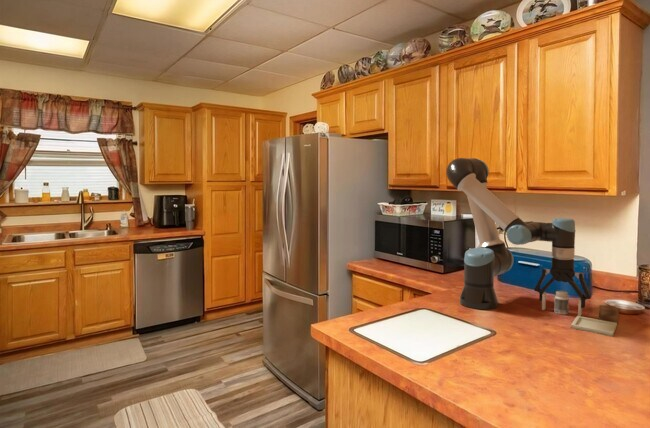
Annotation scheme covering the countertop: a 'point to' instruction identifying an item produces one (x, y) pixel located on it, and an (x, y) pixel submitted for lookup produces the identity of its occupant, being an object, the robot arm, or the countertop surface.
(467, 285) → the robot arm
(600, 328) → the tray
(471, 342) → the countertop surface
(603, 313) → the walnut cube
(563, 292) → the pill bottle
